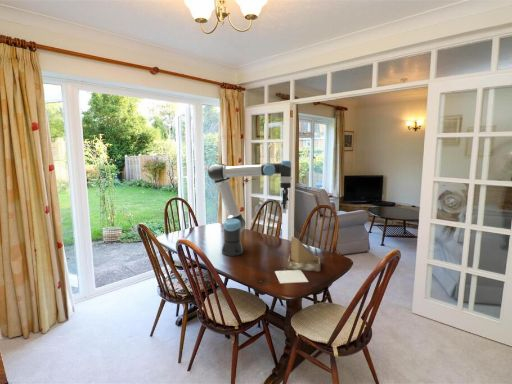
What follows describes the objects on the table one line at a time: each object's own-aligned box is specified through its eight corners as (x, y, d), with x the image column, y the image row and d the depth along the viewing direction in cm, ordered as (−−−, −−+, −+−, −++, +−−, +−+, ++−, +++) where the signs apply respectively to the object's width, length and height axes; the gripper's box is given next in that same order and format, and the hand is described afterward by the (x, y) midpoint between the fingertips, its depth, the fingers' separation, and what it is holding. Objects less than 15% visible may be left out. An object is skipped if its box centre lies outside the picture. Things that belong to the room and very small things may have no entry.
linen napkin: (280, 284, 161) (280, 283, 161) (274, 272, 177) (274, 271, 177) (308, 283, 163) (308, 281, 163) (300, 271, 179) (300, 269, 179)
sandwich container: (318, 259, 185) (319, 237, 183) (298, 263, 179) (298, 239, 177) (311, 255, 193) (311, 233, 191) (291, 258, 187) (291, 236, 185)
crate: (287, 269, 181) (287, 261, 180) (289, 260, 195) (289, 253, 194) (320, 271, 177) (320, 264, 176) (319, 262, 192) (319, 255, 191)
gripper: (289, 184, 197) (288, 215, 200) (291, 180, 221) (291, 208, 224) (278, 184, 199) (278, 214, 202) (282, 180, 223) (281, 207, 226)
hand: (285, 211), depth 213 cm, fingers open, 13 cm apart
